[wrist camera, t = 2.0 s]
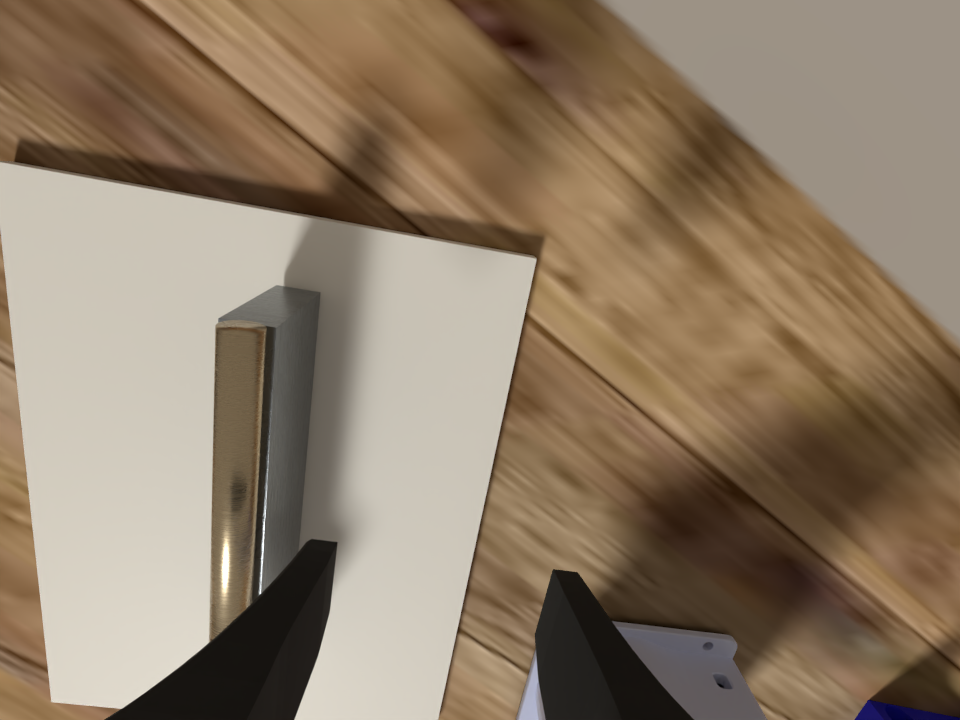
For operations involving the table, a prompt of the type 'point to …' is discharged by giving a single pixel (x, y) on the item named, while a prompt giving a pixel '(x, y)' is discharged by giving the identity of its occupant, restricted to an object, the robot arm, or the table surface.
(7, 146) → the table surface
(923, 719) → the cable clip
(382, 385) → the gate board
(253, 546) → the gate
